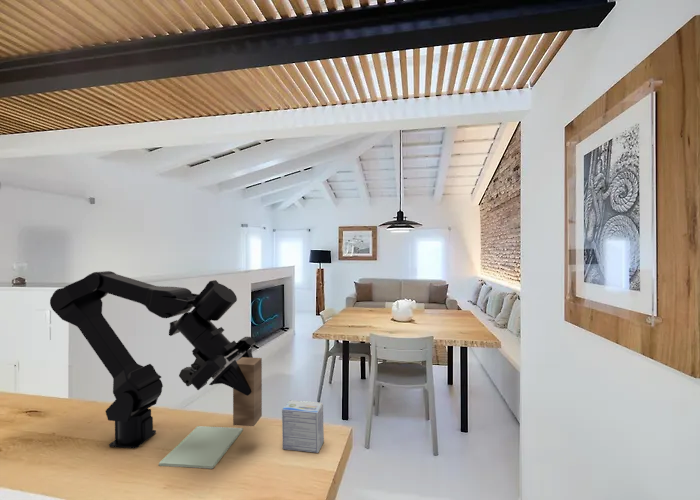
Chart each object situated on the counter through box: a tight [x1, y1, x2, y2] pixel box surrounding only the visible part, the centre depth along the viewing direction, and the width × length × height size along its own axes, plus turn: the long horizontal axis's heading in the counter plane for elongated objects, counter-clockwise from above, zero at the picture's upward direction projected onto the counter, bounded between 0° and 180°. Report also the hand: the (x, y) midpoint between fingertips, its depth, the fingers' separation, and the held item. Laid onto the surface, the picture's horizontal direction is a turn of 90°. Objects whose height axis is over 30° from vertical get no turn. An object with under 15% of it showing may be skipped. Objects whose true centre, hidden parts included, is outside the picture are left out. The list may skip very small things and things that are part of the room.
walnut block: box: [232, 357, 263, 427], centre depth 72 cm, size 4×4×12 cm
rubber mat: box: [158, 425, 244, 470], centre depth 73 cm, size 11×14×1 cm
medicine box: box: [281, 399, 325, 454], centre depth 73 cm, size 8×4×9 cm, turn 78°
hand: (254, 389), depth 72 cm, fingers closed on walnut block, 4 cm apart
